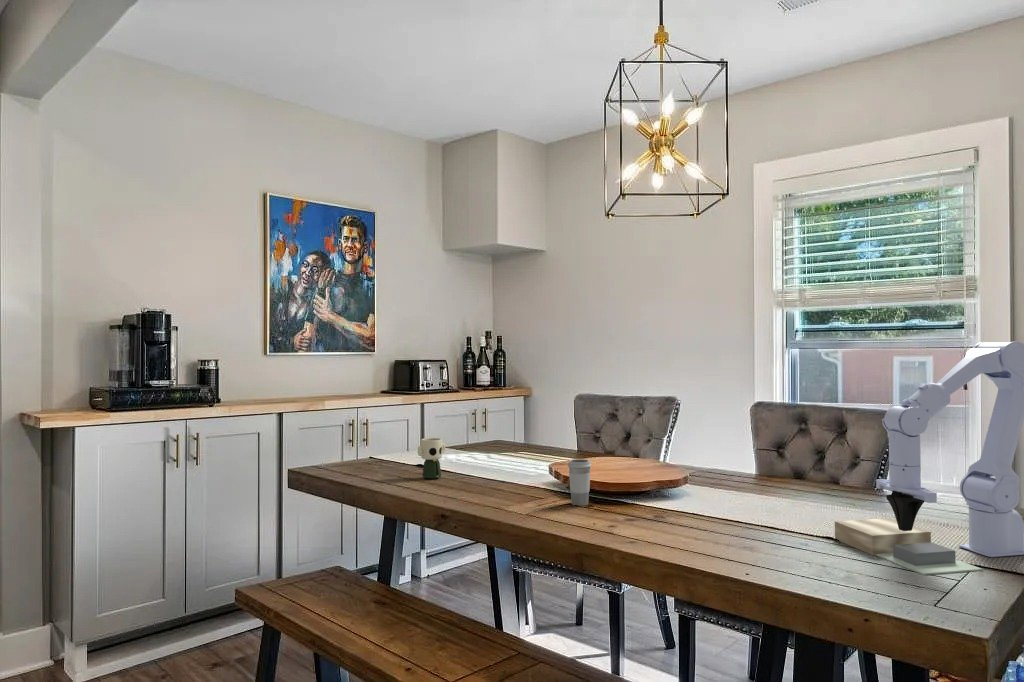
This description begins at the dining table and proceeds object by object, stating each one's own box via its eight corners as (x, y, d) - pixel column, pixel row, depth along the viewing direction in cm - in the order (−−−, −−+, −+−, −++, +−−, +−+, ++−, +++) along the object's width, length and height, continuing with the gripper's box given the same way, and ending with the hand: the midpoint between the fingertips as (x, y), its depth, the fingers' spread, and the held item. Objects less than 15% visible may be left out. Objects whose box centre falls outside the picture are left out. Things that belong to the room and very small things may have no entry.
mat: (930, 551, 145) (930, 550, 145) (982, 570, 133) (982, 568, 133) (876, 555, 143) (876, 554, 143) (923, 575, 131) (923, 573, 131)
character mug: (424, 482, 224) (424, 441, 224) (412, 479, 229) (411, 439, 229) (451, 477, 231) (451, 438, 231) (438, 474, 237) (438, 436, 237)
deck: (889, 535, 158) (889, 518, 158) (931, 550, 146) (930, 531, 146) (834, 539, 155) (834, 521, 155) (872, 554, 143) (872, 535, 143)
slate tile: (955, 550, 137) (955, 562, 137) (931, 542, 143) (931, 554, 143) (915, 553, 135) (916, 565, 135) (893, 545, 141) (893, 556, 141)
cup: (588, 507, 187) (588, 463, 187) (564, 506, 189) (564, 462, 189) (594, 502, 194) (594, 459, 194) (571, 500, 196) (570, 458, 196)
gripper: (863, 459, 150) (864, 522, 150) (914, 471, 136) (915, 540, 136) (891, 458, 152) (892, 520, 151) (945, 469, 137) (946, 538, 137)
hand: (905, 530), depth 144 cm, fingers closed
